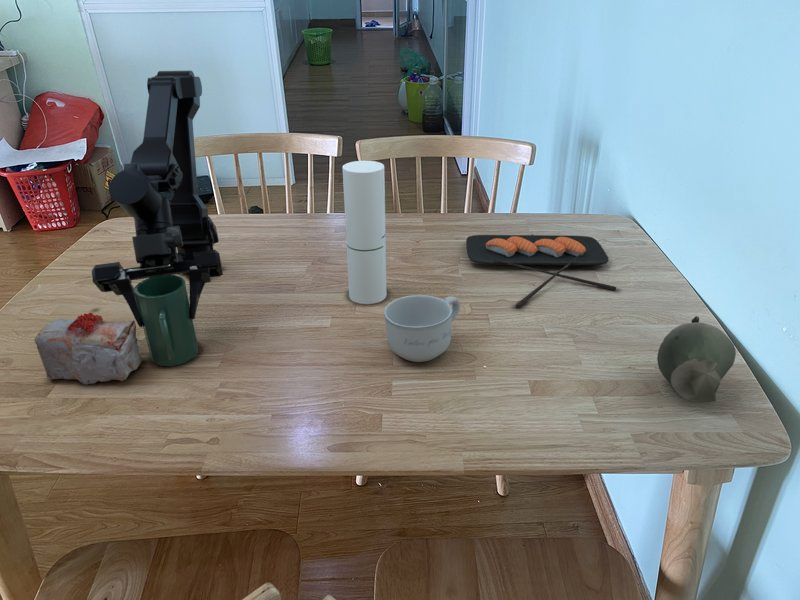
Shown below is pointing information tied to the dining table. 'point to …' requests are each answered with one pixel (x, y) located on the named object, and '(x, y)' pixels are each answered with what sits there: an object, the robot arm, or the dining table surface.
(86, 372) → the food item
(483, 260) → the sushi plate
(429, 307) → the teacup
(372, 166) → the cylindrical container
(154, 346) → the mug
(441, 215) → the dining table surface
